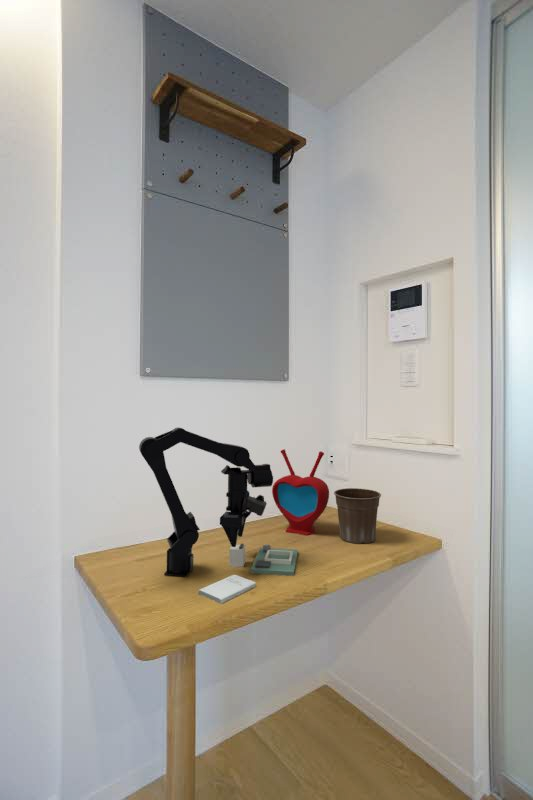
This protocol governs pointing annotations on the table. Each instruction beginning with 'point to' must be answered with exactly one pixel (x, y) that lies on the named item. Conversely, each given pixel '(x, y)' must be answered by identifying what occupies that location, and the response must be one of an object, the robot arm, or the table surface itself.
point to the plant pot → (357, 514)
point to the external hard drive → (227, 588)
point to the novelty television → (301, 498)
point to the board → (275, 561)
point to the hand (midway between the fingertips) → (237, 541)
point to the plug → (237, 556)
